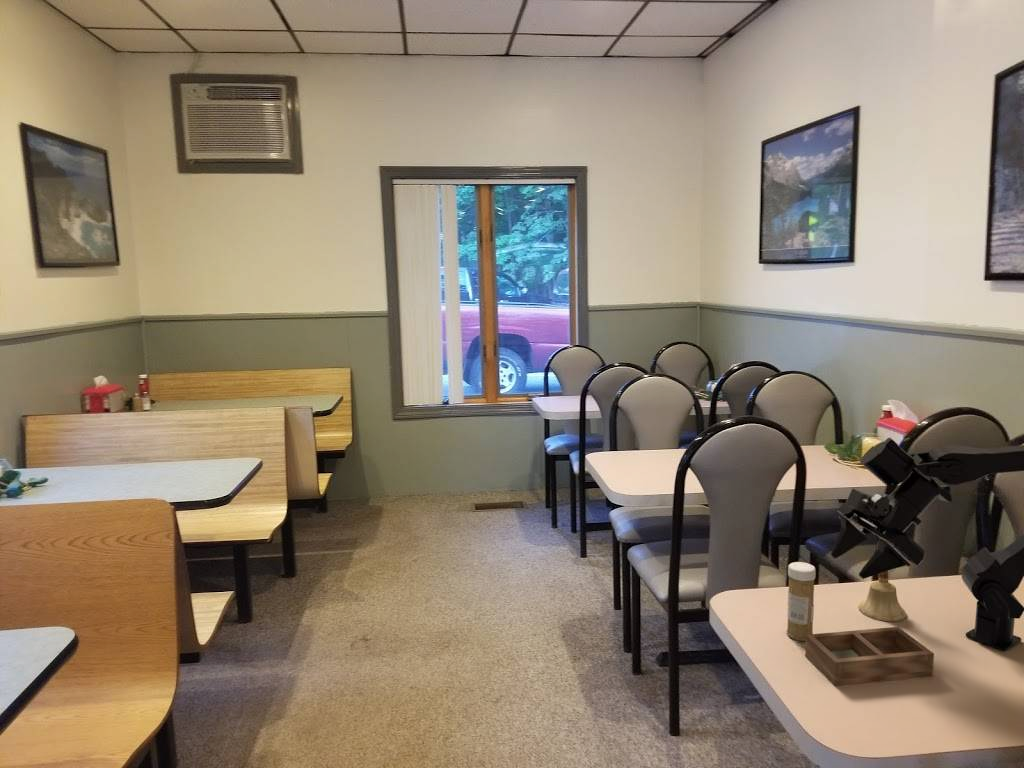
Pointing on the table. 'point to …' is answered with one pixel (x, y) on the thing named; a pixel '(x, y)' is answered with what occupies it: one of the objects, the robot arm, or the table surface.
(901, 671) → the wooden compartment tray
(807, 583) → the sprinkles bottle
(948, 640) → the table surface
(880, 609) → the hand bell
